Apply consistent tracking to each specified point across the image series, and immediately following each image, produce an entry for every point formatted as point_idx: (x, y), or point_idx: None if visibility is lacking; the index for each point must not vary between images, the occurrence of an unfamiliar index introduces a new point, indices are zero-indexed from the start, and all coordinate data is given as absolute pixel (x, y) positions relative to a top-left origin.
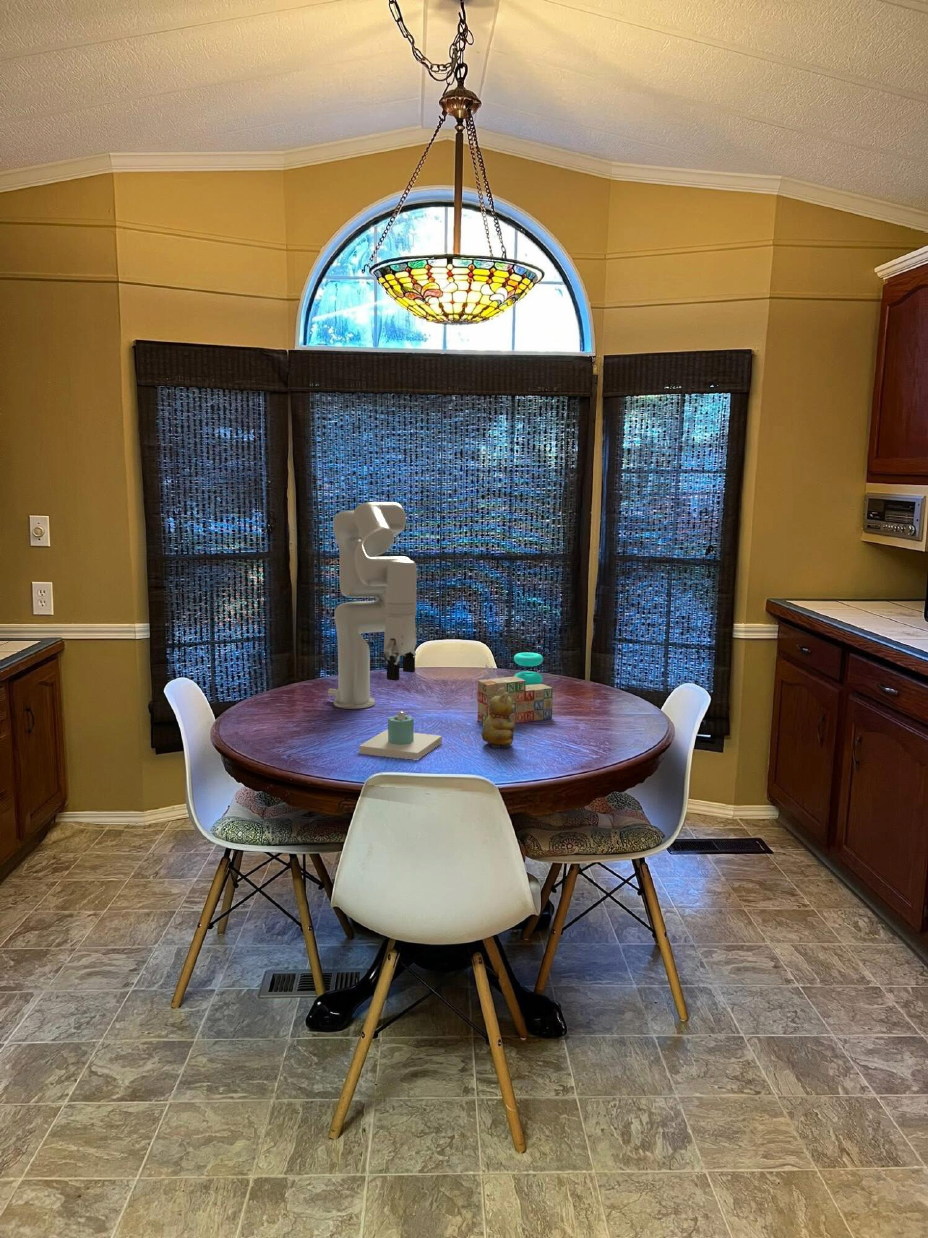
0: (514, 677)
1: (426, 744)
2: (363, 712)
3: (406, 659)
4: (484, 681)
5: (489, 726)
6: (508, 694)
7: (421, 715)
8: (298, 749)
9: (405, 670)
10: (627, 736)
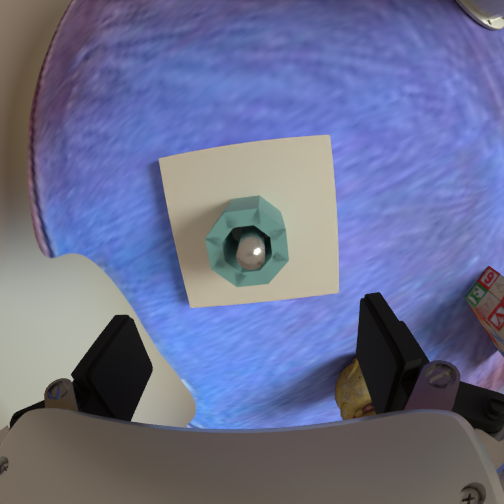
0: None
1: (256, 296)
2: (451, 17)
3: (385, 375)
4: None
5: (345, 397)
6: None
7: (493, 142)
8: (129, 33)
9: (362, 315)
10: None
